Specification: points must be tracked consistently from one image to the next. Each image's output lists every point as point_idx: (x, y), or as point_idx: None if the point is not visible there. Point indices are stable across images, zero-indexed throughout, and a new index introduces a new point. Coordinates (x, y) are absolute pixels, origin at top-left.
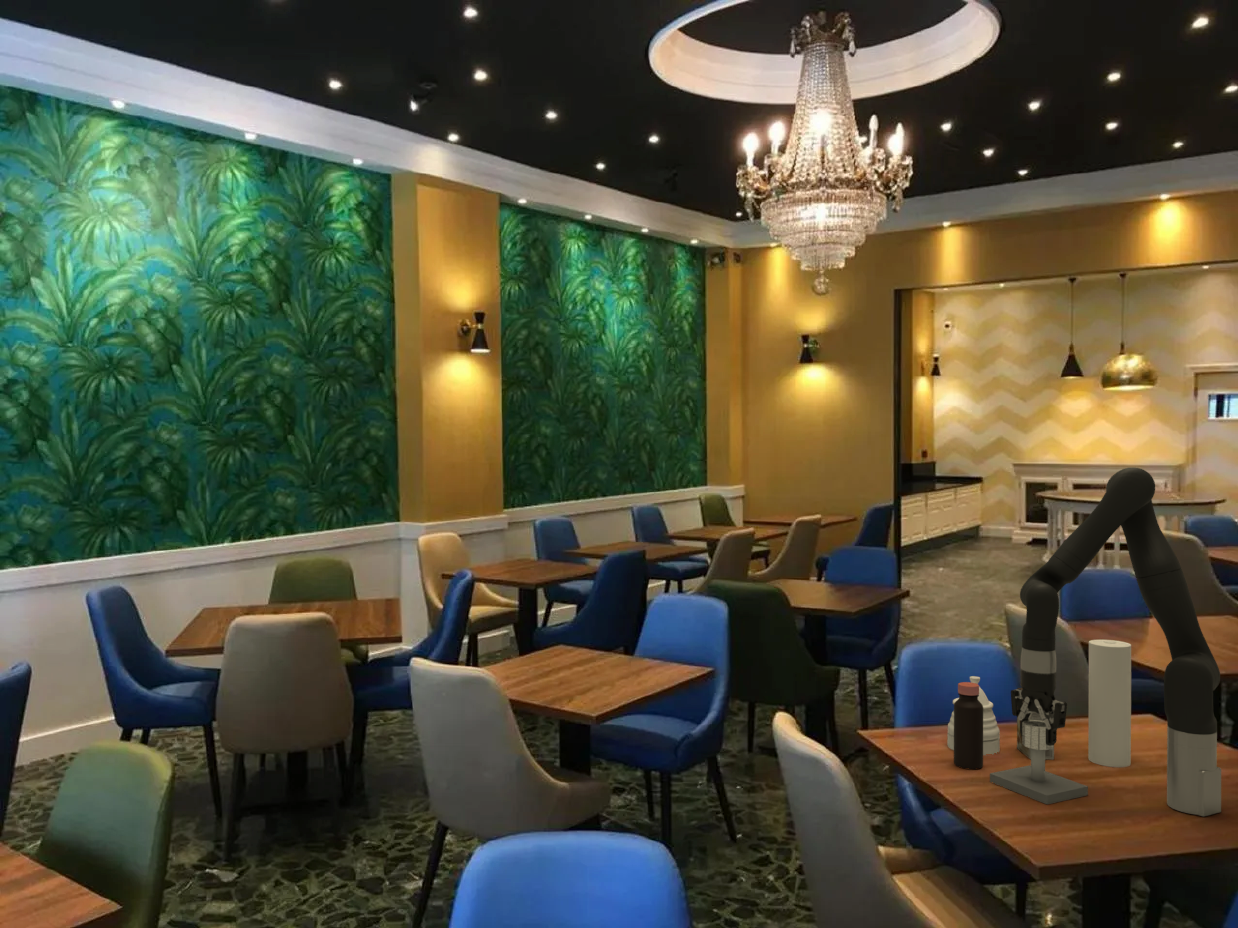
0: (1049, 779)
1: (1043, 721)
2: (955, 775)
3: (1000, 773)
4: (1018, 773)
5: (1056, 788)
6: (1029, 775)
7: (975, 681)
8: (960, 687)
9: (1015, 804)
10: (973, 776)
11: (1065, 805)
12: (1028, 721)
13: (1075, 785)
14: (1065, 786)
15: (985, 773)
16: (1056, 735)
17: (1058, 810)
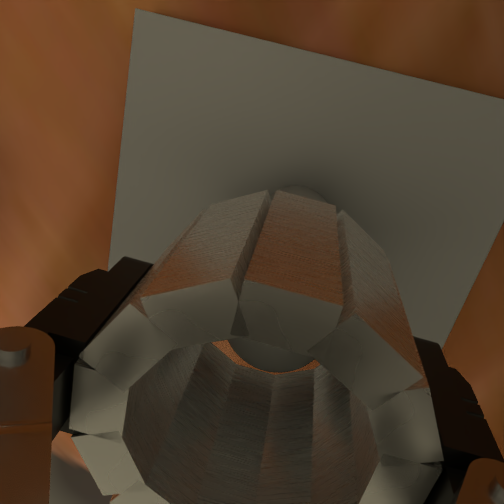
0: (337, 169)
1: (229, 296)
2: (2, 308)
3: None
4: (182, 203)
5: (421, 274)
6: (234, 190)
7: None
8: None
9: None
10: (43, 268)
11: (482, 321)
12: (117, 427)
13: (488, 156)
14: (448, 214)
15: (40, 194)
16: (488, 428)
17: (477, 389)
